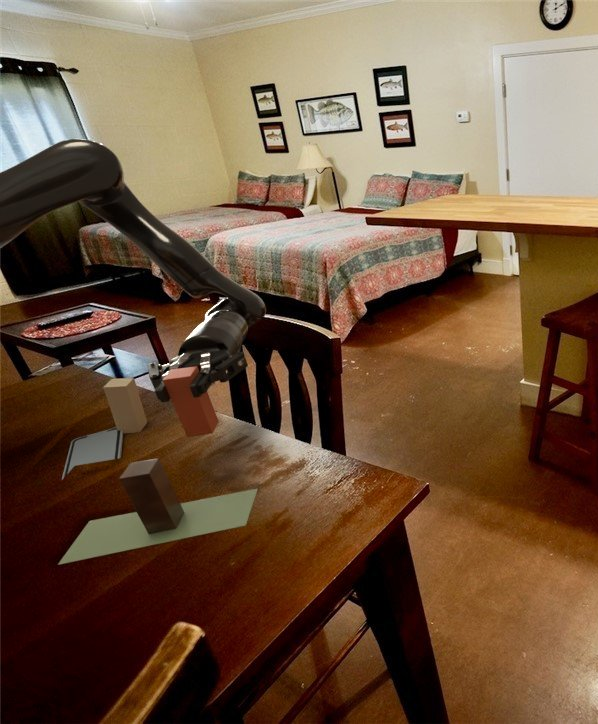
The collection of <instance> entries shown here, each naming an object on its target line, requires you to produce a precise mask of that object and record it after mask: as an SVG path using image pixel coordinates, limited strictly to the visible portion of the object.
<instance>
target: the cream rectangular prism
mask: <svg viewBox="0 0 598 724" xmlns="http://www.w3.org/2000/svg"><path fill="white" fill-rule="evenodd" d="M103 391H104V394H105V397H106V400H107V403H108V406H109V409H110V412H111V415H112V418H113V421H114V424H115V428H116V427H117V430H118V431H119V430H122V431H123V435H124V434H135V433H141V432H142V431H143V429H144V428H145V426H146V425H147V424H148V420H147V416H146V414H145V409H144V406H143V403H142V400H141V396H140V393H139V390H138V387H137V383H136V380H135V378H134V377H125V378H124V377H123V378H111V379H110V380H109V381H108V382H107V383H106V384H105V385H104V386H103Z"/></svg>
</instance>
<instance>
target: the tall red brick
mask: <svg viewBox="0 0 598 724" xmlns="http://www.w3.org/2000/svg"><path fill="white" fill-rule="evenodd" d="M197 374H200V372H199V369H198V367H197V366H195V367H187V368H179V369H172V370H170V372H169V373H168V374H167V375H166V376H165V378H164V379H163V382H164V385H165V387H166V389H167V391H168V394H169V396H170V398H171V399H170V401H171V403H172V405H173V408H174V410H175V412H176V414H177V417H178V419H179V422H180V424H181V426H182V428H183V431H184V433H185V436H186V437H187V438H193V437H199V436H204V435H210V434H213V433H214V431H215V430H216V428H217V427H218V424H219V423H220V422H219V419H218V416H217V413H216V411H215V408H214V405H213V403H212V401H211V398H210V395H209V393H208V391H207V392H205V393H203V394H202V396H201V397H197V398H194V397H193V394H192V392H191V389H190V384H191V382H192V381H193V380H194V378H195V377H196V376H197Z"/></svg>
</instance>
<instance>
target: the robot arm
mask: <svg viewBox="0 0 598 724" xmlns="http://www.w3.org/2000/svg"><path fill="white" fill-rule="evenodd" d="M124 173H125V172H124V169H123V166H122V163H121V161H120V159H119V158H118V155H116V154H115V152H114V151H113V150H111V149H110V148H108V147H107V146H105V145H103V144H102V143H100V142H98V141H94V140H91V139H84V138H70V139H64V140H60V141H58V142H56V143H54V144H52V145H51V146H48V147H47V148H45V149H43V150H41V151H39V152H37V153H36V154H33V156H30V157H28V158H26V159H25V160H23V161H20V162H19V163H17V164H15V165H14V166H11V167H9V168H8V169H4V170H3V171H0V249H2V248H3V247H5V246H7V245H8V244H9V243H10V242H12V241H13V240H15V239H16V238H18V236H20V235H21V234H22V233H24V232H25V231H26V230H27V229H29V228H30V227H31V226H32V225H34V224H35V223H36V222H38V221H39V220H40V219H42V218H44V217H45V216H47V215H49V214H51V213H53V212H55V211H57V210H60V209H62V208H64V207H67V206H70V205H72V204H75V203H79V204H80V205H82V206H83V207H85V208H86V209H88V210H89V211H91V212H92V213H94V214H95V215H96V216H98V217H99V218H100V219H102V220H104V222H106V223H108V224H109V225H110V226H112V227H113V228H114V229H116V230H117V231H118V232H119V233H121V234H122V235H123V236H124V237H125V238H127V240H129V241H130V242H131V243H132V244H134V246H135V247H136V248H138V250H140V251H141V252H142V253H143V254H144V255H145V256H147V257H148V259H149V260H151V262H153V263H154V264H155V265H156V266H157V267H158V268H159V269H160V270H161V271H162V272H163V273H164V274H166V276H168V277H169V278H170V280H172V281H173V282H174V283H175V284H176V285H177V286H178V287H180V288H181V289H182V290H183V291H184V292H185V293H186V294H187V295H189V296H190V297H192V298H194V299H200V298H203V297H205V296H207V295H210V294H212V293H216V294H217V293H218V294H220V295H224V296H225V297H224V299H222V300H221V301H219V302H218V303H217V304H215V305H214V306H213V307H211V308H210V309H209V310H207V312H206V313H205V315H204V320H203V321H202V322H201V323H200V324H198V325H197V326H196V327H195V328H194V329H193V330H192V332H190V333H189V335H188V336H187V337H186V338H185V339H184V341H182V343H181V345H180V346H179V349H178V353H177V356H176V357H174V358H172V359H170V361H169V363H167V364H163V365H162V364H161V363H160V364H158V362H150V363H148V364H147V371H148V377H149V379H150V382H151V384H152V387H153V389H154V394H155V396H156V398H157V400H158V401H160V402H161V403H169V402H170V401H171V398H170V396H169V394H168V391H167V389H166V387H165V385H164V382H163V379H164V378H165V376H166V375H167V374H168V373H169V372H170V370H172V369H179V368H187V367H195V366H197V367H198V369H199V372H200V374H197V376H196V377H195V378H194V380H193V381H192V382H191V384H190V389H191V392H192V394H193V397H194V398H197V397H201V396H202V394H203V393H205V392H208V390H209V388H210V387H213V386H214V385H215V384H216V382H220V383H223V384H224V383H227V382H229V381H230V380H231V379H233V378H234V377H236V376H237V375H238V374H239V373H241V372H242V371H244V370H245V369H246V368H248V367H249V364H248V361H247V357H246V355H245V352H244V351H241V348H242V345H243V342H244V341H245V339H246V337H247V335H248V331H249V329H250V328H251V327H252V326H253V325H255V324H257V323H258V322H259V321H260V320H261V321H262V319H263V318H265V316H266V314H267V307H266V304H265V302H264V301H263V299H262V298H261V297H260V296H259V295H258V294H257V293H255V292H253V291H252V290H250V289H248V288H247V287H245V286H243V285H241V284H239V283H238V282H236V281H235V280H234V279H232V278H230V277H228V276H227V274H224V273H223V272H221V271H220V270H219V269H218V268H217V267H216V266H214V264H213V263H212V262H210V260H209V259H208V258H207V257H206V256H205V255H203V254H202V253H201V252H200V251H199V250H198V249H197V248H196V247H195V246H194V245H192V243H190V242H189V241H188V240H187V239H185V238H184V237H183V236H181V235H180V234H179V233H177V232H176V231H174V230H173V229H171V228H170V227H169V226H168V225H166V224H165V223H164V222H162V221H161V219H159V218H157V217H156V216H155V215H154V214H153V213H152V212H151V211H149V209H148V208H147V207H146V206H145V205H144V204H143V203H142V202H141V201H140V200H139V199H138V197H137V196H136V195H135V194H134V193H133V191H132V190H131V189H130V188H129V186H128V185H127V183H126V182H125V177H124Z"/></svg>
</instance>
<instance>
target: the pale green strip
mask: <svg viewBox="0 0 598 724" xmlns="http://www.w3.org/2000/svg"><path fill="white" fill-rule="evenodd" d="M258 490H259V488H254V489H253V488H252V489H248V490H244V491H239V492H233V493H228V494H222V495H218V496H211V497H206V498H202V499H196V500H191V501H187V502H180V504H181V506H182V508H183V510H184V514H183V516H182V518H181V520H180V522H179V524H178V526H177V528H176V529H172V530H167V531H162V532H157V533H152V534H148V533H147V531H146V529H145V527H144V525H143V523H142V521H141V519H140V518H139V516H138V514H137V512H136V511H133V512H129V513H124V514H119V515H113V516H108V517H102V518H98V519H93V520H89V521H88V523H86V525H85V526H84V527H83V529H82V531H81V532H80V533H79V535H78V536H77V538H75V540H74V541H73V542H72V544H71V545H70V547H69V548H68V549H67V551H66V553H65V554H64V555H63V556H62V558H61V559H60V561H59V562H58V564H57V565H58V566H60V565H63V564H69V563H73V562H80V561H83V560H89V559H93V558H98V557H102V556H107V555H111V554H116V553H121V552H126V551H130V550H136V549H140V548H145V547H150V546H155V545H159V544H164V543H169V542H174V541H179V540H184V539H188V538H192V537H198V536H203V535H206V534H207V535H208V534H211V533H217V532H221V531H226V530H231V529H237V528H241V527H246V526H247V524H248V522H249V517H250V514H251V512H252V509H253V505H254V502H255V499H256V496H257V494H258Z"/></svg>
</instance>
